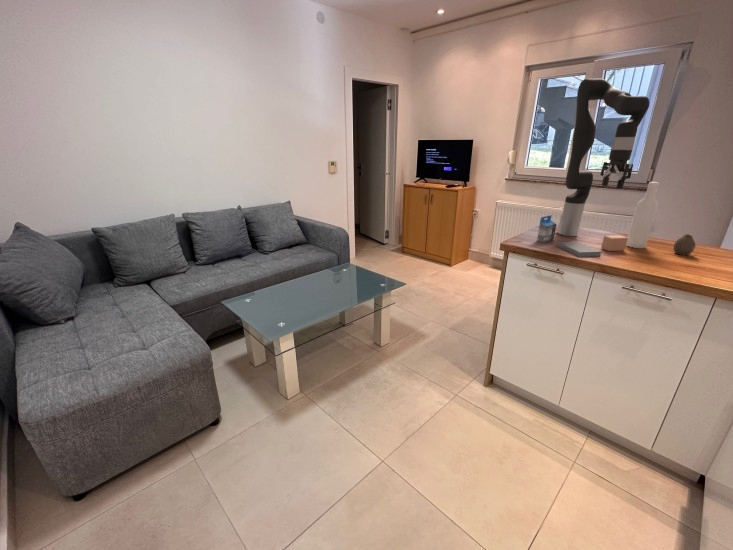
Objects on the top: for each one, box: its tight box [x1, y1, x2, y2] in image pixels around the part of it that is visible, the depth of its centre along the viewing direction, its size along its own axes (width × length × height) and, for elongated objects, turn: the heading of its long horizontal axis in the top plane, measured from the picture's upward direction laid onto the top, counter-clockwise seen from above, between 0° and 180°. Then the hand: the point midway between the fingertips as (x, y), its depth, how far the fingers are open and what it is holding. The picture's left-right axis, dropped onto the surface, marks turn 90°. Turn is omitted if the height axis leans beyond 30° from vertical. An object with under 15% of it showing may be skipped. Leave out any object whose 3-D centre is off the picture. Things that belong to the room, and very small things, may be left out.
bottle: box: [626, 181, 660, 249], centre depth 155 cm, size 8×8×30 cm
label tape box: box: [536, 214, 557, 243], centre depth 169 cm, size 9×4×12 cm, turn 120°
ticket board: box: [556, 240, 602, 257], centre depth 155 cm, size 16×10×2 cm, turn 5°
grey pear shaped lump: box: [673, 233, 696, 256], centre depth 148 cm, size 7×7×9 cm
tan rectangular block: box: [600, 234, 628, 252], centre depth 155 cm, size 4×8×6 cm, turn 95°
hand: (611, 187), depth 149 cm, fingers open, 8 cm apart
